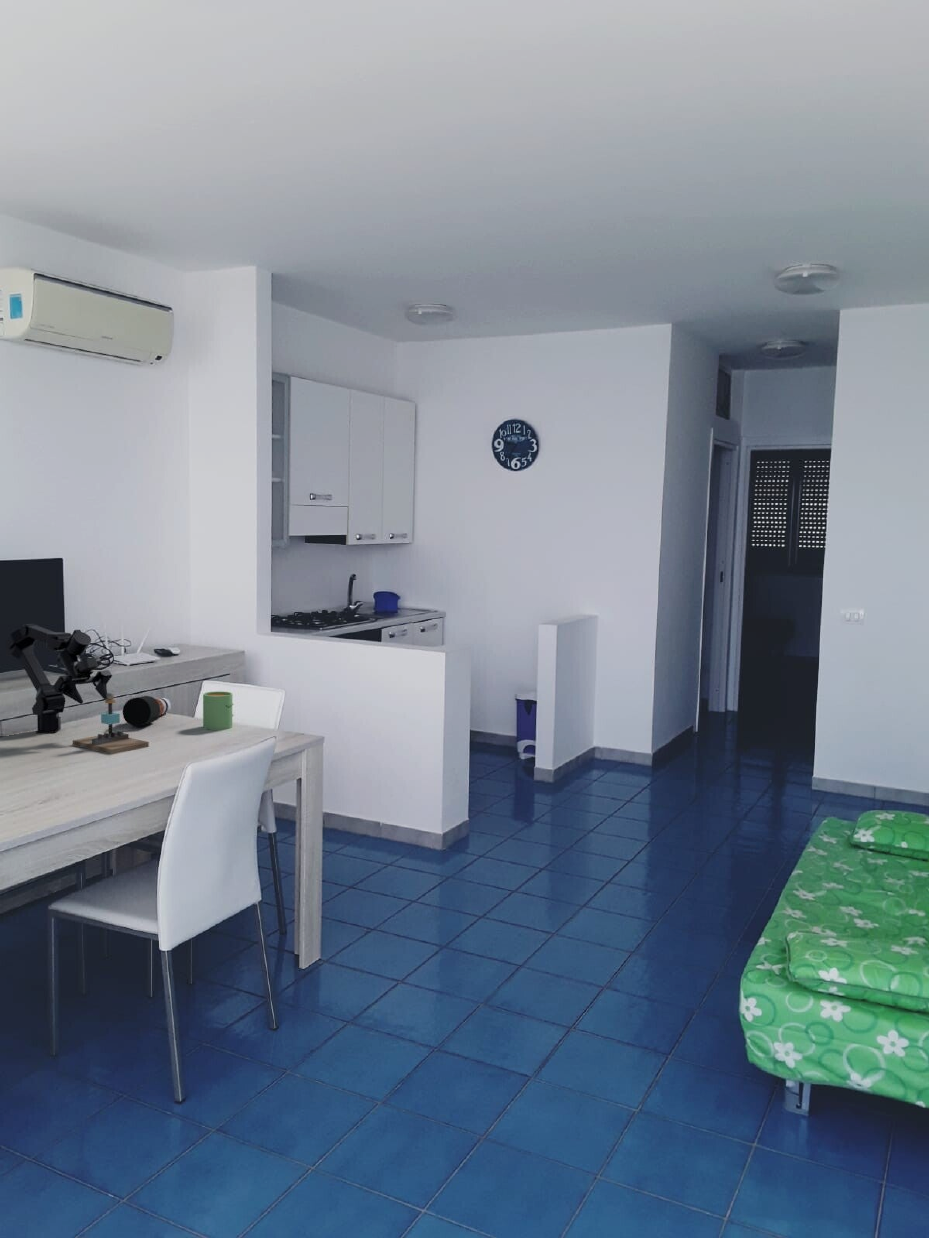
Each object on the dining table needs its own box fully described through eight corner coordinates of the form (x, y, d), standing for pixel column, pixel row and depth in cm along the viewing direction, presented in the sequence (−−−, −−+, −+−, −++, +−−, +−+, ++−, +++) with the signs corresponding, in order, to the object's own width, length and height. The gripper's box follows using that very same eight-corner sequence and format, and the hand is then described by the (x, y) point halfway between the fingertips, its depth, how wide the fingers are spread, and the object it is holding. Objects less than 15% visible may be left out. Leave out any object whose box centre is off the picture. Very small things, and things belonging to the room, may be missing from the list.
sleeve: (101, 722, 319) (101, 713, 319) (111, 721, 323) (111, 711, 322) (109, 724, 317) (108, 715, 317) (119, 722, 321) (119, 713, 320)
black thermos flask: (172, 722, 381) (185, 699, 381) (142, 731, 348) (156, 706, 348) (149, 709, 381) (162, 687, 381) (117, 717, 348) (131, 692, 348)
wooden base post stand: (72, 744, 321) (71, 692, 319) (109, 737, 332) (109, 686, 330) (111, 754, 309) (111, 699, 308) (148, 746, 321) (148, 693, 319)
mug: (229, 730, 348) (229, 696, 347) (199, 729, 348) (199, 695, 347) (238, 723, 361) (238, 690, 360) (209, 722, 361) (209, 689, 360)
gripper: (58, 651, 318) (79, 689, 313) (108, 646, 333) (129, 682, 328) (44, 673, 323) (65, 711, 318) (94, 667, 338) (114, 703, 333)
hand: (94, 701), depth 324 cm, fingers open, 9 cm apart
